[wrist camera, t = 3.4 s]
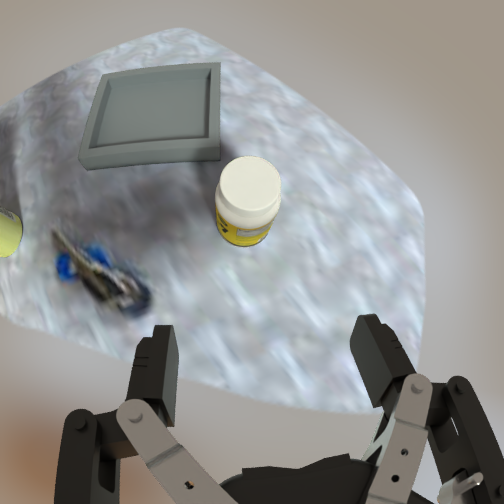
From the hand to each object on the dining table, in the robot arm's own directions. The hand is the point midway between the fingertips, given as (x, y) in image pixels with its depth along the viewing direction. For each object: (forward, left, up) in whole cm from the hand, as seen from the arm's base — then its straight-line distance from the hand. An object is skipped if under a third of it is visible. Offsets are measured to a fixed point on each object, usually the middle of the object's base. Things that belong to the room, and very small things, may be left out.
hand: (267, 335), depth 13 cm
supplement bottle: (0, +9, -13) cm, 16 cm away
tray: (-9, +22, -13) cm, 27 cm away
